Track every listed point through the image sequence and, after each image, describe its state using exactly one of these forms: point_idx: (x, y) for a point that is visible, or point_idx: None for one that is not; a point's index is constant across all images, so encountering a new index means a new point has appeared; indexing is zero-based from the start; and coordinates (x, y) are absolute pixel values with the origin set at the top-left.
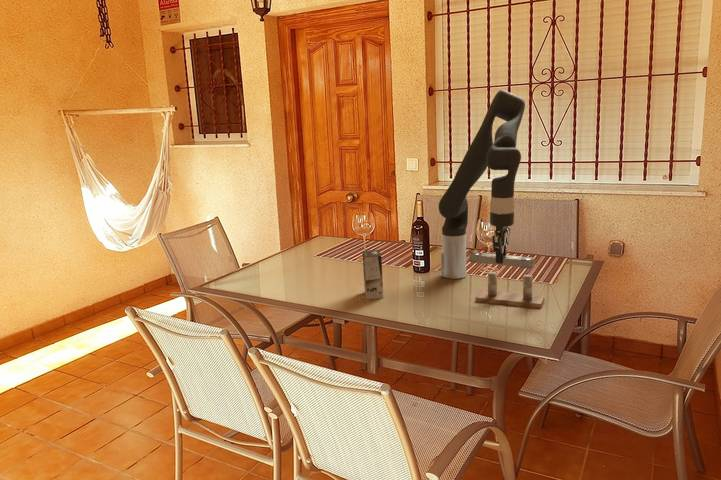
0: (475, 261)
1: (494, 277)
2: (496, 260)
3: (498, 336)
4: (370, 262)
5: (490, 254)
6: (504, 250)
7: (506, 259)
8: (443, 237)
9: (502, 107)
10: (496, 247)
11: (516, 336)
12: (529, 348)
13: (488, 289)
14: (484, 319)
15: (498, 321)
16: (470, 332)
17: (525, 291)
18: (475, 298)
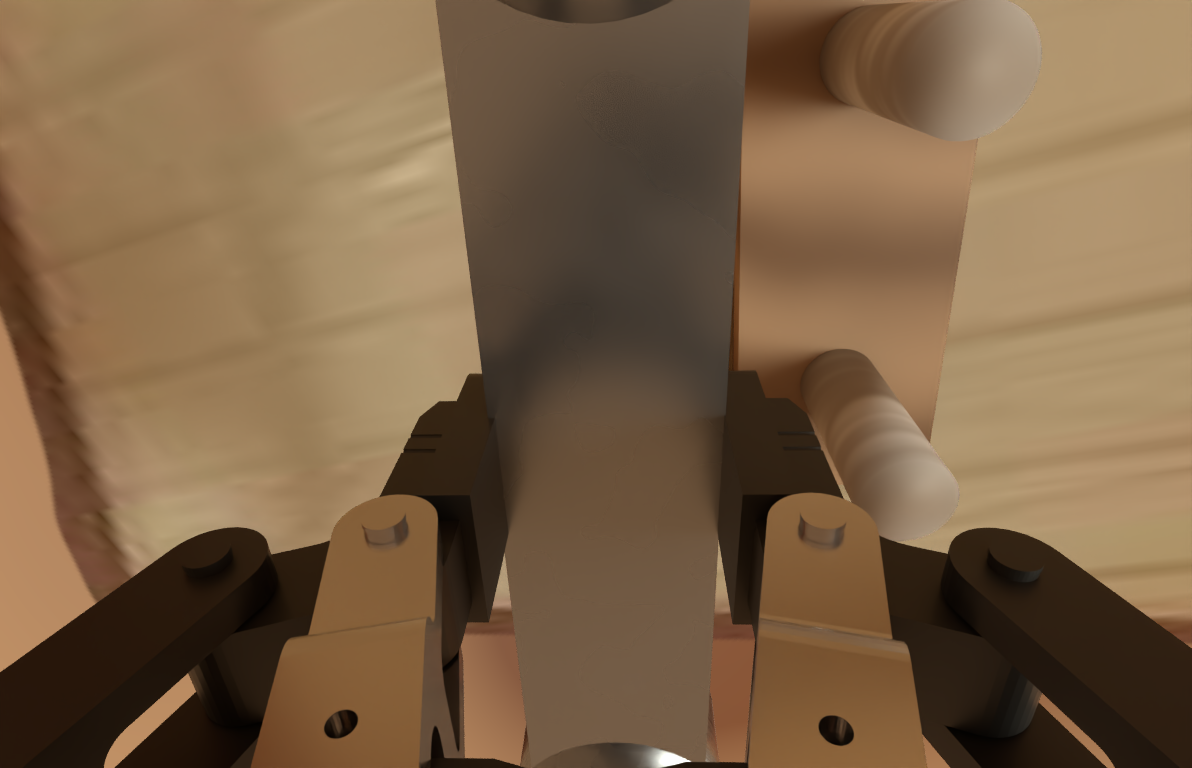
0: None
1: (898, 115)
2: (421, 422)
3: (105, 335)
4: None
5: (667, 244)
6: (728, 587)
7: (514, 572)
8: None
9: None
10: (330, 621)
11: (180, 432)
12: (77, 524)
13: (859, 19)
14: (330, 147)
15: (350, 264)
16: (26, 125)
17: (820, 409)
18: None
